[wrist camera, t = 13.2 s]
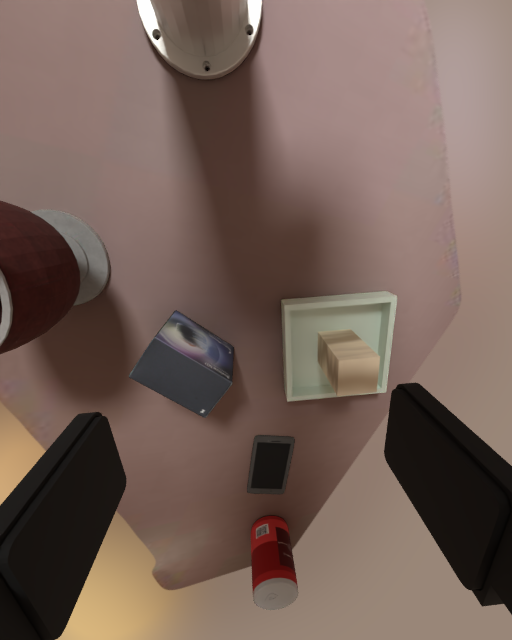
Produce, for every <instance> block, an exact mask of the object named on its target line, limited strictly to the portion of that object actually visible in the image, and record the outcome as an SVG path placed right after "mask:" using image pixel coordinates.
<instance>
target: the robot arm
mask: <svg viewBox="0 0 512 640" xmlns="http://www.w3.org/2000/svg"><path fill="white" fill-rule="evenodd" d="M136 3H137V7H138V12H139V16H140V18H141V21H142V23H143V26H144V29H145V31H146V33H147V35H148V37H149V39H150V41H151V43H152V44H153V46H154V47H155V49H156V50H157V52H158V53H159V54H160V55H161V56H162V58H163V59H164V60H165V61H166V62H167V63H168V64H169V65H171V66H172V67H173V68H175V69H176V70H177V71H179V72H181V73H183V74H185V75H187V76H189V77H193V78H197V79H215V78H219V77H222V76H224V75H226V74H228V73H230V72H232V71H233V70H234V69H236V68H237V67H238V66H239V65H241V63H242V62H243V61H244V60H245V58H246V57H247V56H248V54H249V53H250V51H251V49H252V47H253V45H254V43H255V40H256V37H257V34H258V31H259V27H260V21H261V15H262V3H263V1H262V0H136ZM247 33H250V34H251V35H250V36H249V35H247ZM158 37H159V38H160V39H159V40H157V38H158ZM206 68H209V69H210V70H209V71H205V69H206ZM384 454H385V458H386V461H387V463H388V465H389V467H390V468H391V470H392V472H393V473H394V475H395V476H396V478H397V480H398V481H399V483H400V484H401V486H402V488H403V489H404V491H405V493H406V494H407V496H408V497H409V499H410V501H411V502H412V504H413V506H414V507H415V509H416V510H417V512H418V514H419V515H420V517H421V518H422V520H423V522H424V523H425V525H426V527H427V528H428V530H429V531H430V533H431V535H432V536H433V538H434V539H435V541H436V543H437V544H438V546H439V548H440V549H441V551H442V553H443V554H444V556H445V557H446V559H447V560H448V562H449V564H450V565H451V567H452V568H453V570H454V572H455V573H456V575H457V577H458V578H459V580H460V581H461V583H462V584H463V585H464V586H465V588H467V589H468V590H472V591H473V593H474V594H475V596H476V598H477V599H478V601H479V602H480V604H481V605H482V606H489V605H497V604H505V606H506V607H507V609H508V610H509V611H510V613H511V614H512V466H511V465H510V464H509V463H507V462H506V461H505V460H504V459H503V458H501V456H500V455H498V454H497V453H496V452H495V451H494V450H493V449H492V448H491V447H490V446H488V445H487V444H486V443H485V442H484V441H483V440H482V439H481V438H479V437H478V436H477V435H476V434H475V433H474V432H473V431H472V430H470V429H469V428H468V427H467V426H466V425H465V424H464V423H463V422H461V421H460V420H459V419H458V418H457V417H456V416H455V415H454V414H452V413H451V412H450V411H449V410H448V409H447V408H446V407H445V406H444V405H442V404H441V403H440V402H439V401H438V400H437V399H436V398H435V397H433V396H432V395H431V394H430V393H429V392H428V391H427V390H426V389H424V388H423V387H422V386H421V385H420V384H418V383H406V384H399V385H397V387H396V389H394V390H393V391H392V393H391V401H390V409H389V418H388V425H387V433H386V441H385V450H384ZM125 487H126V475H125V472H124V469H123V466H122V463H121V460H120V456H119V453H118V450H117V447H116V444H115V441H114V438H113V434H112V431H111V428H110V425H109V422H108V419H107V417H105V416H102V414H101V413H99V412H93V413H83V414H78V415H77V416H76V417H75V418H74V419H73V420H72V422H71V423H70V424H69V425H68V426H67V427H66V429H65V430H64V431H63V432H62V433H61V435H60V436H59V437H58V438H57V439H56V440H55V442H54V443H53V444H52V445H51V446H50V448H49V449H48V450H47V451H46V452H45V453H44V455H43V456H42V457H41V458H40V459H39V460H38V462H37V463H36V464H35V465H34V466H33V468H32V469H31V470H30V471H29V472H28V473H27V475H26V476H25V477H24V478H23V480H22V481H21V482H20V483H19V484H18V485H17V487H16V488H15V489H14V490H13V491H12V492H11V494H10V495H9V496H8V497H7V498H6V500H5V501H4V502H3V503H2V504H1V505H0V640H55V639H58V637H60V636H61V634H62V633H63V631H64V629H65V627H66V625H67V623H68V621H69V618H70V616H71V614H72V611H73V609H74V607H75V604H76V602H77V600H78V597H79V595H80V593H81V590H82V588H83V586H84V583H85V581H86V579H87V576H88V574H89V572H90V570H91V567H92V565H93V563H94V560H95V558H96V556H97V553H98V551H99V548H100V546H101V544H102V542H103V539H104V537H105V535H106V532H107V530H108V528H109V525H110V523H111V521H112V518H113V516H114V514H115V511H116V509H117V507H118V504H119V502H120V500H121V498H122V495H123V493H124V490H125Z"/></svg>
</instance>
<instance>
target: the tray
mask: <svg viewBox="0 0 512 640" xmlns="http://www.w3.org/2000/svg"><path fill="white" fill-rule="evenodd" d="M396 304H397V296H396V295H394V294H392V293H389V292H387V291H379V292H367V293H355V294H342V295H330V296H318V297H305V298H293V299H281V313H282V340H283V368H284V391H285V395H286V398H287V402H289V401H299V400H310V399H321V398H332V397H342V396H337V395H336V393H335V391H334V389H333V388H332V386H331V384H330V382H329V381H328V379H327V377H326V375H325V374H324V372H323V370H322V368H321V367H320V365H319V363H318V332H321V331H333V330H344V329H351V330H352V331H353V332H354V333H355V334H357V335H358V336H359V337H360V338H361V339H362V340H363V341H364V342H365V343H366V344H367V345H368V346H369V347H370V348H371V349H372V350H373V351H374V352H376V353H377V354H378V355H379V356H380V364H379V374H378V383H377V392H375V393H385V392H386V389H387V380H388V372H389V363H390V355H391V346H392V338H393V329H394V321H395V312H396ZM365 394H374V393H365ZM354 395H364V394H354ZM344 396H353V395H344Z"/></svg>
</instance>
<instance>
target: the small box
mask: <svg viewBox="0 0 512 640" xmlns="http://www.w3.org/2000/svg"><path fill="white" fill-rule="evenodd" d="M233 354H234V347H233V346H232V345H230V344H229V343H227V342H225V341H224V340H222V339H221V338H219V337H218V336H216V335H214V334H213V333H211V332H210V331H208V330H206V329H205V328H203V327H202V326H200V325H199V324H197V323H195V322H194V321H192V320H191V319H189V318H188V317H186V316H184V315H183V314H181V313H180V312H178V311H177V310H176V311H174V313H173V314H172V315H171V317H170V318H169V319H168V321H167V322H166V323H165V324H164V326H163V327H162V328H161V329H160V331H159V332H158V333H157V335H156V336H155V337H154V339H153V340H152V341H151V343H150V344H149V346H148V347H147V349H146V350H145V352H144V353H143V355H142V356H141V358H140V359H139V361H138V362H137V364H136V365H135V367H134V368H133V370H132V372H131V373H130V375H129V378H131V379H133V380H135V381H137V382H139V383H141V384H142V385H144V386H146V387H148V388H150V389H152V390H154V391H155V392H157V393H159V394H161V395H163V396H165V397H167V398H169V399H170V400H172V401H174V402H176V403H178V404H180V405H182V406H183V407H185V408H187V409H189V410H191V411H193V412H195V413H196V414H198V415H200V416H202V417H204V418H206V417H207V416H208V414H209V413H210V412H211V410H212V409H213V408H214V407H215V405H216V404H217V403H218V402H219V400H220V399H221V398H222V397H223V395H224V394H225V393H226V391H227V390H228V389H229V388H230V386H231V385H232V375H233Z"/></svg>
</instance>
